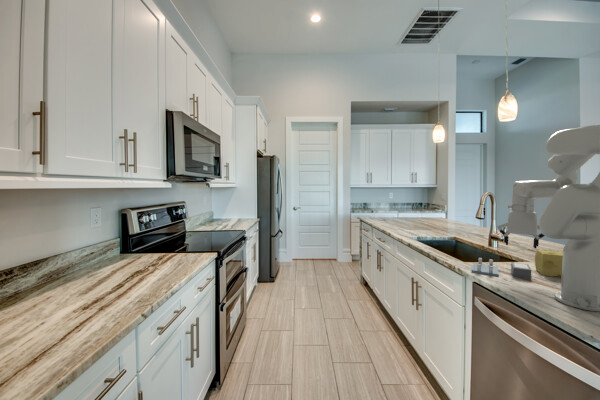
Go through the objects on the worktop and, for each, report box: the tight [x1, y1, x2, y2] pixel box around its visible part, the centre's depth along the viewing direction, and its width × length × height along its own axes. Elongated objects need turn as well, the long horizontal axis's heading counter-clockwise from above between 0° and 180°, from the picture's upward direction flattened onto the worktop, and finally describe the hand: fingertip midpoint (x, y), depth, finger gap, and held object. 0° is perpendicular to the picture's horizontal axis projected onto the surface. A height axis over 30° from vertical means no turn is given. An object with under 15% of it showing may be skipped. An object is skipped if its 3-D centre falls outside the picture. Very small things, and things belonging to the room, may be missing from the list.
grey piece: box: [471, 257, 500, 277], centre depth 123 cm, size 14×10×4 cm
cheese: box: [534, 249, 563, 278], centre depth 118 cm, size 10×11×10 cm
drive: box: [510, 261, 532, 281], centre depth 116 cm, size 10×6×5 cm, turn 144°
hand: (520, 246), depth 117 cm, fingers open, 9 cm apart
